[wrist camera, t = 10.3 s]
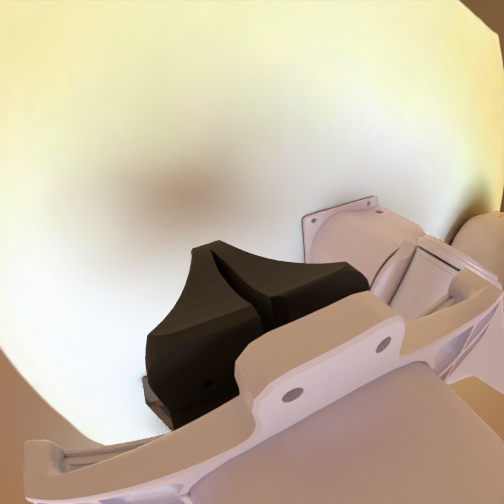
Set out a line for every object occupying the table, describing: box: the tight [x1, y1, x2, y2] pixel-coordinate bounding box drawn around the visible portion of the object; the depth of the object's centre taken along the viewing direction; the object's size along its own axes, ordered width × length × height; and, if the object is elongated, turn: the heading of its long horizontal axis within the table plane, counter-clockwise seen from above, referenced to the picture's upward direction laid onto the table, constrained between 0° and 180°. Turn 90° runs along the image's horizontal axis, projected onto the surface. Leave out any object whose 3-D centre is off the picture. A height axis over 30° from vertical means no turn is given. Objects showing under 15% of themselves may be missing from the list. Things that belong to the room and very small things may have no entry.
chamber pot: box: [450, 211, 504, 311], centre depth 34 cm, size 28×28×21 cm
